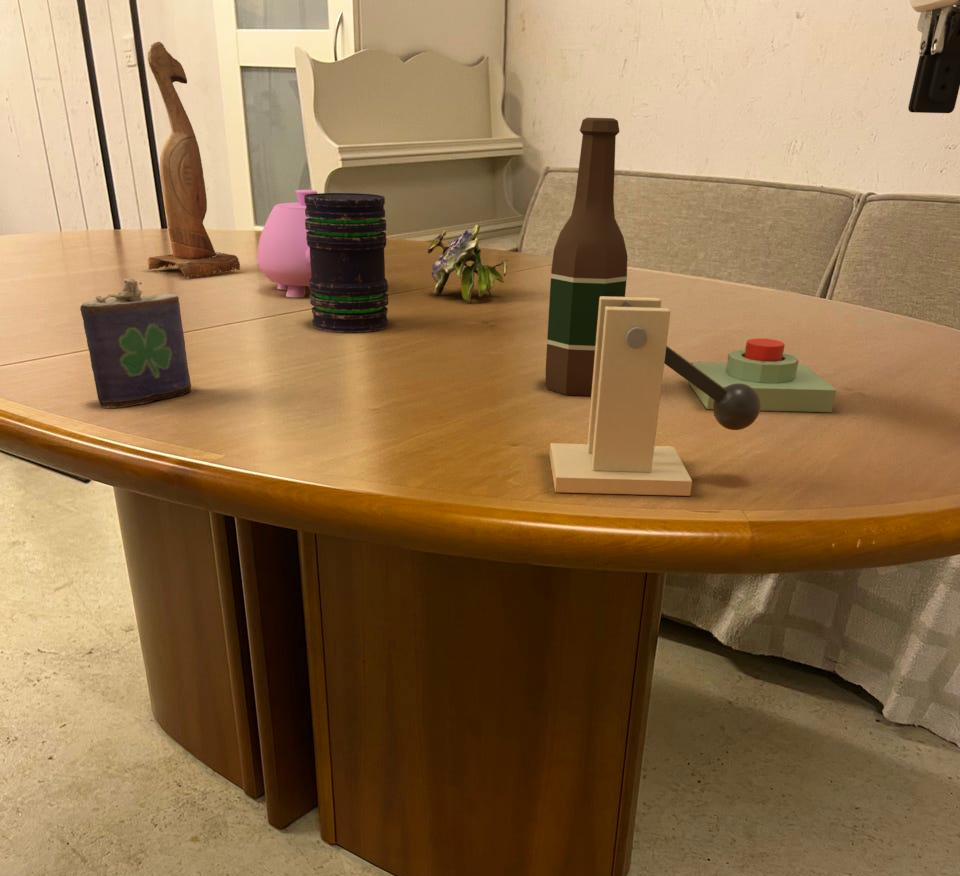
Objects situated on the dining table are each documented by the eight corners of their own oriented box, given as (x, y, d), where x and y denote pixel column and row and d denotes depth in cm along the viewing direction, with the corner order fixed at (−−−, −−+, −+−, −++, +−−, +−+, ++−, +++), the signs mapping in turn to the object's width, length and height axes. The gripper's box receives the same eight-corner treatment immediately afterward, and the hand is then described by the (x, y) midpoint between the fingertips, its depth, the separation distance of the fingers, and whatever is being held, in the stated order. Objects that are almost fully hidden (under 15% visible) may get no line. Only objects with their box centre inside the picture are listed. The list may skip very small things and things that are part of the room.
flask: (183, 386, 91) (167, 271, 86) (199, 393, 89) (184, 275, 84) (93, 404, 85) (70, 281, 80) (108, 411, 84) (86, 286, 78)
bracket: (672, 460, 75) (694, 295, 69) (690, 496, 68) (716, 315, 62) (549, 457, 75) (559, 291, 69) (555, 492, 68) (567, 312, 62)
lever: (733, 430, 72) (763, 394, 70) (743, 444, 69) (775, 407, 67) (599, 333, 68) (627, 293, 67) (603, 343, 65) (633, 301, 64)
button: (776, 356, 93) (779, 338, 92) (785, 365, 89) (789, 346, 89) (740, 355, 93) (743, 337, 92) (748, 364, 89) (751, 345, 89)
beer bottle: (530, 379, 97) (544, 116, 85) (598, 375, 99) (620, 118, 87) (559, 399, 90) (577, 117, 78) (630, 394, 92) (659, 119, 81)
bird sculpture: (244, 271, 154) (222, 43, 138) (186, 279, 146) (155, 38, 130) (202, 264, 160) (177, 45, 144) (144, 271, 152) (109, 39, 136)
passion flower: (440, 332, 142) (419, 258, 142) (507, 316, 143) (487, 243, 143) (444, 299, 131) (422, 219, 131) (518, 283, 132) (495, 204, 132)
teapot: (384, 302, 133) (381, 196, 126) (276, 307, 128) (267, 197, 121) (346, 278, 150) (342, 184, 143) (249, 282, 145) (240, 185, 138)
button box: (801, 385, 97) (809, 346, 95) (831, 412, 88) (840, 370, 86) (687, 382, 97) (692, 343, 95) (706, 409, 88) (712, 367, 86)
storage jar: (381, 316, 124) (377, 192, 117) (396, 331, 116) (393, 199, 109) (306, 318, 122) (297, 192, 114) (317, 334, 113) (308, 199, 106)
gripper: (1105, -204, 61) (1019, 114, 70) (999, -149, 74) (937, 113, 83) (993, -207, 61) (920, 111, 70) (906, -152, 74) (854, 111, 83)
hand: (930, 112), depth 77 cm, fingers closed
